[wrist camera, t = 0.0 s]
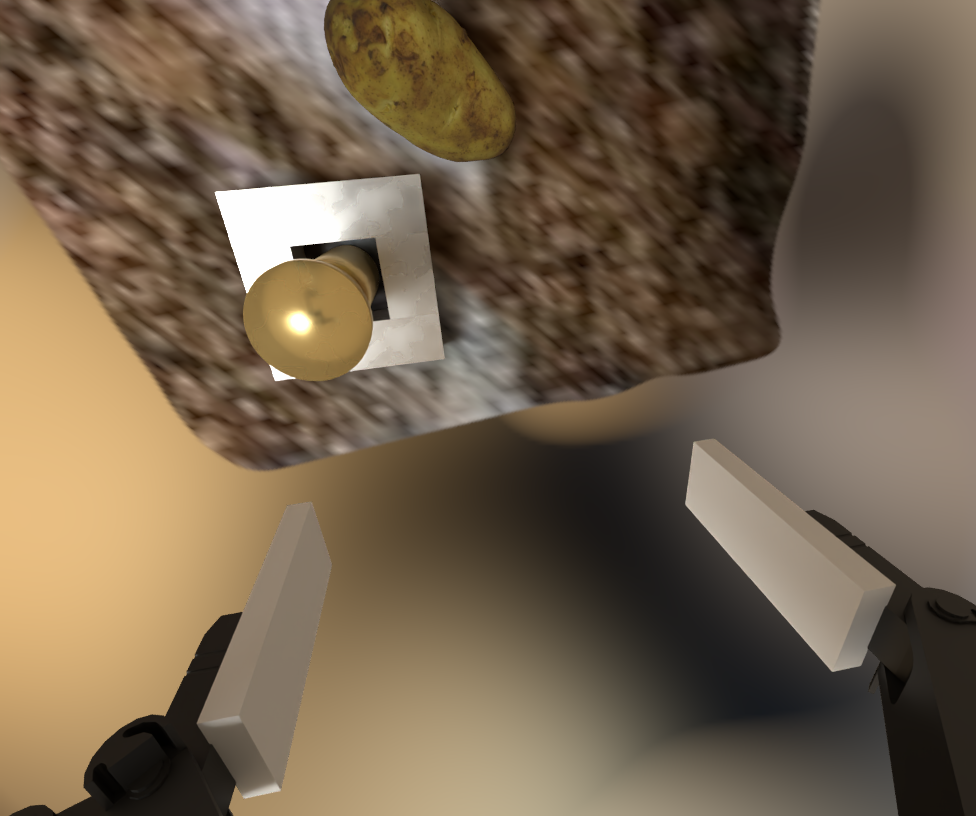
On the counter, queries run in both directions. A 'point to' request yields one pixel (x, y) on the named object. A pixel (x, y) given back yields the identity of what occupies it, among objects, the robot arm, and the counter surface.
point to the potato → (420, 76)
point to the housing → (340, 217)
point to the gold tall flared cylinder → (314, 313)
